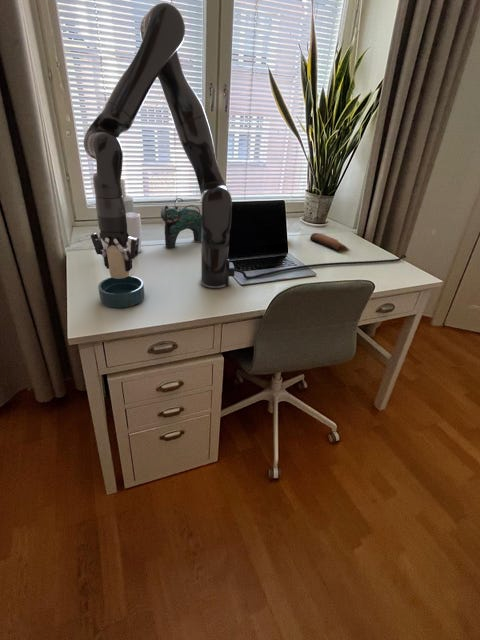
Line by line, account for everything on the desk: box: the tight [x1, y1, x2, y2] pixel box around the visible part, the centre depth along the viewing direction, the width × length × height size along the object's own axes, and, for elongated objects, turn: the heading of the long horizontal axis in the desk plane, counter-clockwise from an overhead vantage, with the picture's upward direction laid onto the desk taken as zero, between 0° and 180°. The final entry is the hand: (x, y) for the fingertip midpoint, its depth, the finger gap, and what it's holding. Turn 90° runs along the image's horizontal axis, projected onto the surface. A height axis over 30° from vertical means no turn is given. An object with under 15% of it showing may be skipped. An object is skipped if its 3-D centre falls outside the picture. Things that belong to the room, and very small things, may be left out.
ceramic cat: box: [160, 197, 202, 249], centre depth 149 cm, size 20×6×20 cm, turn 129°
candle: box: [106, 245, 130, 279], centre depth 103 cm, size 6×6×10 cm
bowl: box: [97, 275, 145, 309], centre depth 108 cm, size 13×13×5 cm
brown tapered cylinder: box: [309, 232, 349, 253], centre depth 163 cm, size 18×7×7 cm
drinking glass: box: [126, 212, 143, 254], centre depth 140 cm, size 7×7×15 cm
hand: (118, 268), depth 104 cm, fingers closed on candle, 5 cm apart
